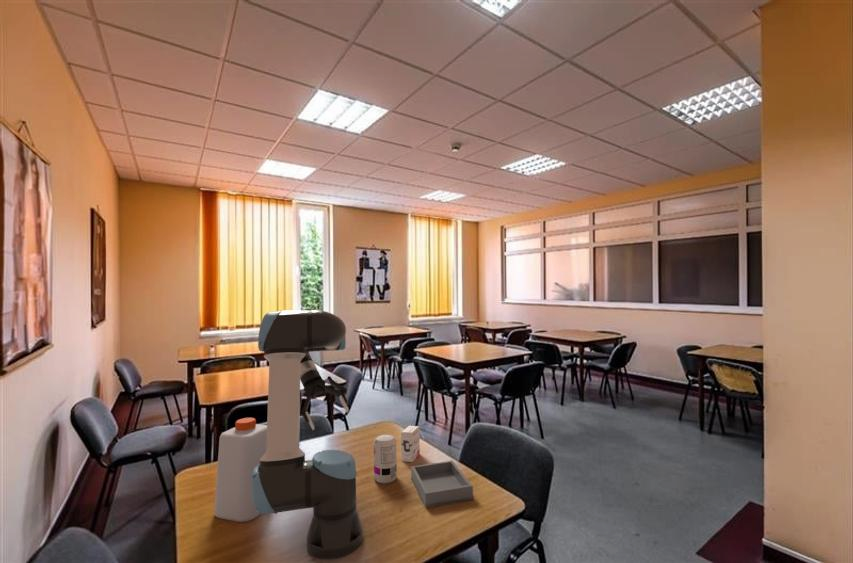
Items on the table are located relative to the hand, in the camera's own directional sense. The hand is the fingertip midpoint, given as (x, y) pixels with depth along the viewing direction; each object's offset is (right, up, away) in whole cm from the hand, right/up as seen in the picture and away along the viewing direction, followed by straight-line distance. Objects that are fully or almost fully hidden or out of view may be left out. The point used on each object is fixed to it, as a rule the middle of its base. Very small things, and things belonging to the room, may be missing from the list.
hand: (331, 419), depth 143 cm
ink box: (+29, -21, +15) cm, 39 cm away
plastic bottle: (-22, -21, -20) cm, 37 cm away
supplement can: (+21, -21, -2) cm, 30 cm away
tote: (+40, -20, -10) cm, 46 cm away
